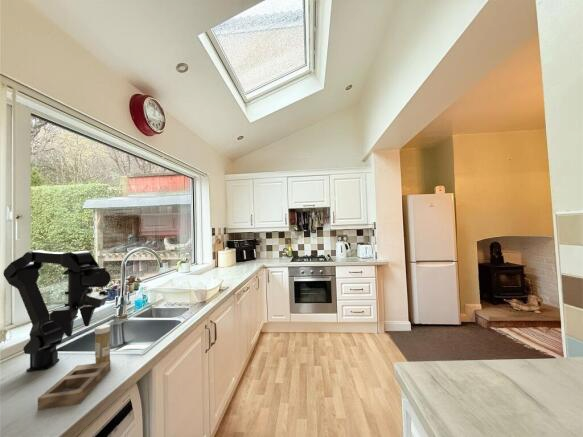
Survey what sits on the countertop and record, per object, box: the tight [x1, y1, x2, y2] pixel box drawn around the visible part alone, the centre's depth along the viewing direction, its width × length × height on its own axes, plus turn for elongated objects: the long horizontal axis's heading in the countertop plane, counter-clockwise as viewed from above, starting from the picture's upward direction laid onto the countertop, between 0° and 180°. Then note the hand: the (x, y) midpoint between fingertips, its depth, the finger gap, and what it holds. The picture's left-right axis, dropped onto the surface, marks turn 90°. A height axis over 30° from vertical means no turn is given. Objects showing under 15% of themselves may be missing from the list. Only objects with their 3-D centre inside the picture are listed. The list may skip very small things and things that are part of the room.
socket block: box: [37, 361, 111, 411], centre depth 79 cm, size 10×17×3 cm, turn 11°
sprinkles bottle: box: [94, 324, 111, 363], centre depth 92 cm, size 5×5×13 cm
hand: (78, 331), depth 90 cm, fingers open, 9 cm apart
